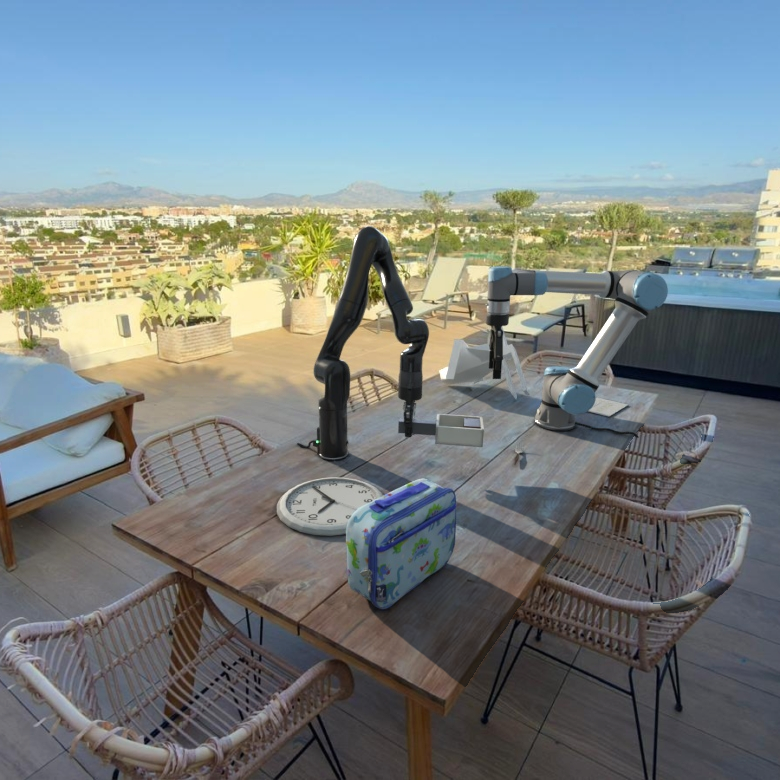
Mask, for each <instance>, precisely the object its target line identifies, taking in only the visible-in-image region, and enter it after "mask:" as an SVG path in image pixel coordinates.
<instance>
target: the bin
mask: <svg viewBox="0 0 780 780" xmlns="http://www.w3.org/2000/svg"><path fill="white" fill-rule="evenodd" d="M464 418H468V419H480V426H481V429H476V428H463V426H464ZM407 423H410V422H407ZM397 427H398V428H397V434H405V426H404V418H403V417H399V419H398V426H397ZM412 435H420V436H435V441H434V444H435V445H444V446H458V447H459V446H460V447H473V448H483V447H484V437H485V436H484V435H485V427H484V418H483V416H477V415H462V414H449V413H448V414H447V413H437V414H436V420H432V419H416V418H414V419H413V426H412Z"/></svg>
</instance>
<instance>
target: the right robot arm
mask: <svg viewBox="0 0 780 780" xmlns="http://www.w3.org/2000/svg"><path fill="white" fill-rule="evenodd" d="M546 293H552V294H553V293H557V294H572V295H573V294H576V295H595V296H599V298H601V299H611V300H614V309H613V311H612V313H611V314H610V315H609V317H608V318H607V320H606V321H605V323H604V325H603V326H602V327H601V328H600V331H599V332H598V333H597V334H596V337H595V338H594V339H593V341H592V343H591V344H590V346H589V347H588V349H587V350H586V352H585V353H584V355H583V356H582V358H581V360H580V361H579V362H578V364H577V365H576V366H575V367H570V366H548V367H546V368H545V370H544V373H543V381H542V382H543V383H542V394H541V402H540V405H539V407H538V408H537V410H536V413H535V416H534V424H535V425H536V426H537V427H539V428H542V429H544V430H549V431H556V432H567V431H572V430H574V429H575V428H576V425H577V426H580V427H583V428H586V429H590V430H594V431H597V432H598V431H599V432H609V433H610V432H611V433H613V434H616V435H632V436H634V437H635V438H637V439H639V438H640V436H639V435H638V434H637V433H635V432H633V431H618V430H615V429H612V428H608V427H595V426H592V425H589V424H586V423H582V422H578V421H576V418H575V417H576V416H577V415H578V416H579V415H582V414H586V413H588V411H589V410H590V409H591V408H592V407H593V405H594V403H595V400H596V398H595V397H596V392H597V391H598V389H599V387H600V382H599V380H600V378H601V376H602V375H603V373H604V372H605V370H606V369H607V368H608V367H609V365H610V363H611V362H612V360H613V359H614V357H615V356H616V355H617V353H618V351H619V350H620V348H621V347H622V345H623V344H624V343H625V341H626V339H627V338H628V336H629V335H630V334H631V332H632V331H633V329H634V328H635V326H636V325H637V323H638V322H639V321H640V320H645V319H646V318H647V317H648V315H649V314H650V313H651V311H653V310H655V309H658V308H660V307H662V305H663V304H664V303H665V302H666V300H667V297H668V294H669V288H668V283H667V282H666V280H665V279H664V277H662V276H661V275H659V274H657V273H655V272H651V271H644V270H643V271H642V270H637V269H627V270H626V269H625V270H604V271H602V272H601V273H598V272H597V273H596V272H578V271H577V272H576V271H559V270H557V271H556V270H536V269H534V270H532V269H521V268H513V269H512V267H511V266H503V265H502V266H501V265H500V266H498V265H497V266H491V267H490V268H489V269H488V280H487V301H486V303H485V304H484V306H485V307H486V312H487V313H486V317H485V318H486V319H485V323H486V325H487V326H490V331H489V332H490V336H489V343H488V344H489V347H490V348H489V349H490V350H491V351H490V353H489V369H493V371H492V380H501V379H502V369H503V367H502V360H503V331H504V330H503V331H502V329H501V327H506V326H509V321H510V315H509V313H510V308H511V307H510V306H511V296H534V297H536V296H543V295H545V294H546ZM499 356H500V357H499Z"/></svg>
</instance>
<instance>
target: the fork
mask: <svg viewBox="0 0 780 780" xmlns="http://www.w3.org/2000/svg"><path fill="white" fill-rule="evenodd" d="M524 447H525V444H523V443H521V442H517V443H516V447H515V450H514V452H515V453H516V455H515V456H514V466H516V465H517V462H518V461H519V458H520V454H523V452H524Z"/></svg>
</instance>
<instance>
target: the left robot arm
mask: <svg viewBox="0 0 780 780" xmlns="http://www.w3.org/2000/svg"><path fill="white" fill-rule="evenodd" d="M372 266H373V268H374V269H375V272H376V273H377V275H378V278H379V281H380V286H381V291H382V294H383V298H384V301H385V302H386V305H387V307H388V310H389V311H390V314H391V321H392V327H393V333H394V336H395V338H396V340H397V341H398V342H399V343H400V344H401V345H408V347H407V348H406V349H405V350H403V351H401V352H400V354H399V373H398V383H397V384H398V385H397V387H398V388H397V397H398V399H400V400H401V401H404V402H403V404H402V410H403V417H402V418H404V426H405V433H404V437H405V438H412V436H413V434H412V426H413V419H415V416H416V408H417V402H416V401H419V400H421V399H422V397H423V381H424V380H423V379H424V376H423V360H424V359H423V358H424V355H425V352H426V348H427V345H428V341H429V337H430V328H429V326H428V324H427V322H426V321H425V320H424V319H421V318H417V319H408V316H409V315H410V314H412V313H413V312H414V311H413V310H414V305H413V303H412V301H411V299H410V296H409V294H408V292H407V290H406V288H405V286H404V284H403V281H402V279H401V277H400V275H399V272H398V270H397V267H396V264H395V261H394V257H393V252H392V250H391V246H390V242H389V240H388V238H387V237H386V236H385V235H384V234H383V233H382V232H381V231H380V230H379V229H377V228H376V227H374V226H371V225H368V226H363V227H362V228H361V229H360V230H359V231H358V232H357V234H356V236H355V238H354V242H353V246H352V250H351V254H350V259H349V264H348V267H347V271H346V275H345V277H344V280H343V284H342V288H341V290H340V293H339V296H338V299H337V302H336V304H335V308H334V312H333V315H332V318H331V321H330V324H329V327H328V330H327V333H326V336H325V338H324V340H323V344H322V346H321V348H320V350H319V353H318V355H317V357H316V360H315V361H314V365H313V377H314V379H315V380H316V381H317V382H318V383H320V384H323V385H324V394H323V395H321V396H319V398H318V427H316V438H313V439H312V440H310V441H309V442H308V445H304V444H302V443H299V442H298V443H296V445H297V446H299V447H301V448H304V449H309V448H310V447H311V445H312V447H314V448H316V451H317V456H319V457H320V458H322V459H323V460H326V461H339V460H342V459H345V458H346V457H348V455H349V451H348V449H349V448H348V446H349V439H348V401H349V398H350V395H351V370H350V366H349V364H348V363H347V362H346V361H345V360H343V359H341V355H342V354H343V353H342V352H343V349H344V347H345V345H346V343H347V342H348V340H349V339H350V338H351V337H352V336H353V334H354V333H355V332H356V330H357V329H358V328H359V327H360V325H361V323H362V321H363V319H364V316H365V313H366V310H367V306H368V302H369V278H370V277H369V276H370V272H371V271H370V270H371V268H372ZM407 422H410V423H407Z"/></svg>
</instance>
